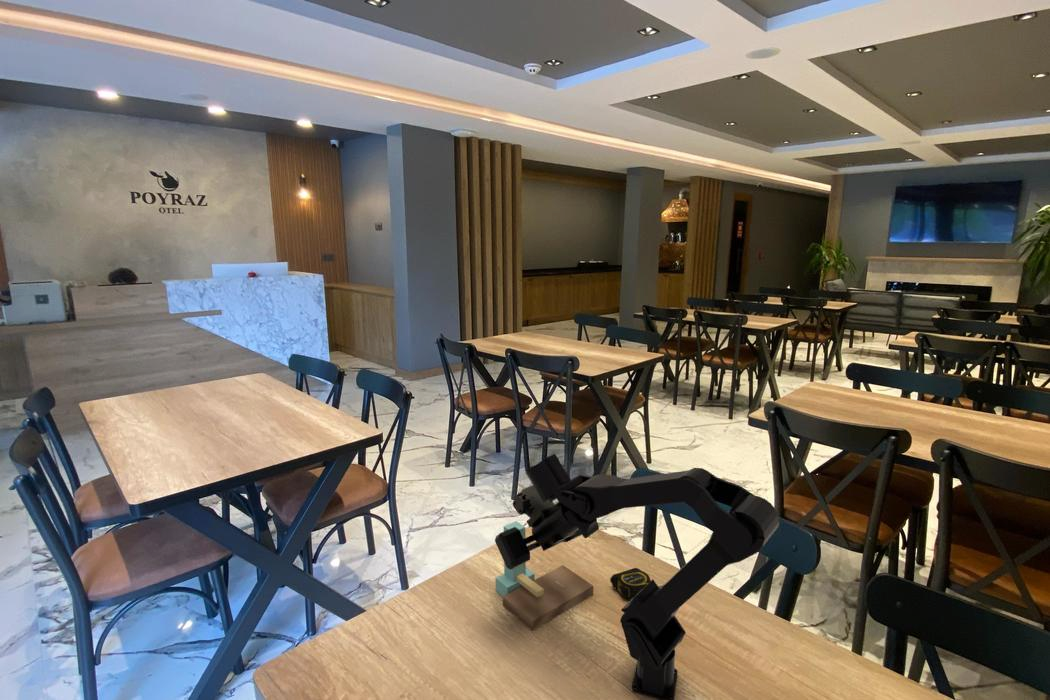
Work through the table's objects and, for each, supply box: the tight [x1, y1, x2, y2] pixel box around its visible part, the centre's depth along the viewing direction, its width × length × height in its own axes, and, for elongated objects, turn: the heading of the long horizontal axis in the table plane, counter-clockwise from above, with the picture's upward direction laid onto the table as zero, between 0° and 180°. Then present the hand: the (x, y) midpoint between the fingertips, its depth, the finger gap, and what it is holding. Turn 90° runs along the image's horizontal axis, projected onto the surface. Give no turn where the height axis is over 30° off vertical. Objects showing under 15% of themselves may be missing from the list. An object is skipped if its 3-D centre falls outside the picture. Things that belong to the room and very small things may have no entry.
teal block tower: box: [495, 520, 544, 598], centre depth 106 cm, size 7×10×14 cm
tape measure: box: [609, 567, 652, 600], centre depth 108 cm, size 7×7×4 cm
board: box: [502, 565, 595, 632], centre depth 106 cm, size 16×9×2 cm, turn 129°
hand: (523, 548), depth 105 cm, fingers open, 9 cm apart
